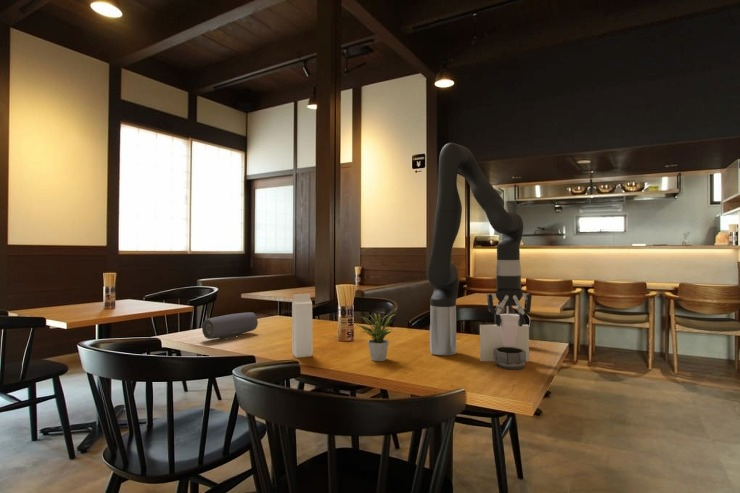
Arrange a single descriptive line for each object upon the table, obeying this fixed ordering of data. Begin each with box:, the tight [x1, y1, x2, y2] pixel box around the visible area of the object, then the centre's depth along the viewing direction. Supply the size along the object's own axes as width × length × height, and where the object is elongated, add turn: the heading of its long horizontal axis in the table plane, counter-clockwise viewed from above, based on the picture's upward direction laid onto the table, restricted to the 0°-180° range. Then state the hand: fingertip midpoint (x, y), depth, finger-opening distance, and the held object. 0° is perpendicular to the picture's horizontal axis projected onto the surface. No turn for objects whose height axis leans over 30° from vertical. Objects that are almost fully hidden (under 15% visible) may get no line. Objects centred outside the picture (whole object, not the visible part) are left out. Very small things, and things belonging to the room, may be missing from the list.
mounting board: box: [479, 324, 530, 362], centre depth 142 cm, size 16×1×12 cm, turn 87°
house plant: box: [356, 312, 396, 362], centre depth 146 cm, size 14×14×16 cm
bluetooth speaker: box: [201, 312, 259, 340], centre depth 184 cm, size 23×9×10 cm, turn 145°
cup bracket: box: [494, 347, 527, 371], centre depth 136 cm, size 9×10×5 cm
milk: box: [291, 293, 314, 359], centre depth 152 cm, size 6×6×22 cm
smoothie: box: [500, 306, 520, 346], centre depth 136 cm, size 6×6×14 cm
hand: (509, 325), depth 136 cm, fingers closed on smoothie, 6 cm apart
